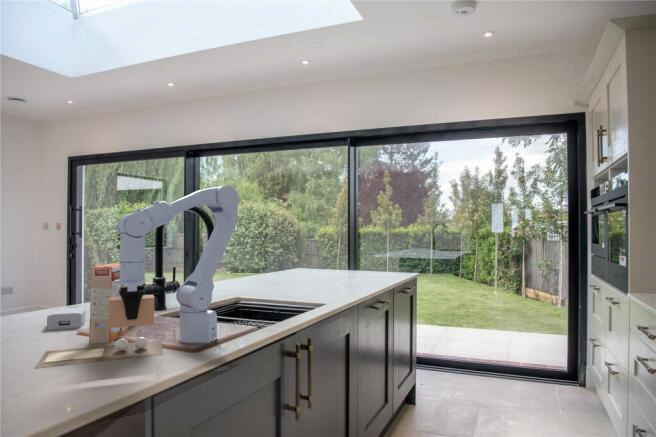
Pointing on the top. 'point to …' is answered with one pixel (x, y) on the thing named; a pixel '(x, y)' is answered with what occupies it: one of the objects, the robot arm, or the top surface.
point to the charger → (66, 318)
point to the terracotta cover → (119, 315)
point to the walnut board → (97, 354)
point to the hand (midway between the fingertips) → (132, 316)
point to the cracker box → (103, 303)
